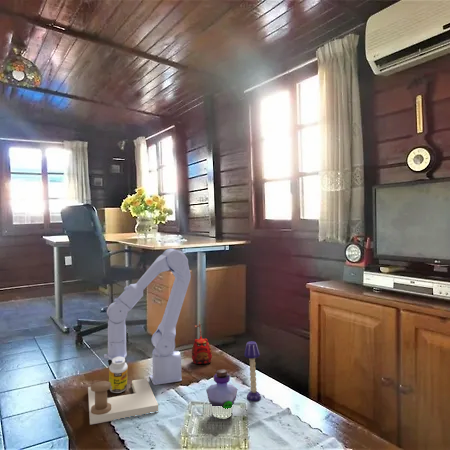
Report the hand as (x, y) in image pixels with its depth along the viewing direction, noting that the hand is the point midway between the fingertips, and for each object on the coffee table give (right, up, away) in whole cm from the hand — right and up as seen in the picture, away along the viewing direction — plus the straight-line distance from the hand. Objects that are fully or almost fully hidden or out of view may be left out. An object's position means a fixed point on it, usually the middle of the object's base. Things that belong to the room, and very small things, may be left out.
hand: (117, 382), depth 124 cm
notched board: (+4, -1, -11) cm, 12 cm away
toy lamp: (+43, -1, -9) cm, 44 cm away
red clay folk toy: (+26, -2, +22) cm, 34 cm away
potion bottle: (+34, -1, -19) cm, 39 cm away
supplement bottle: (+1, -1, -3) cm, 3 cm away
